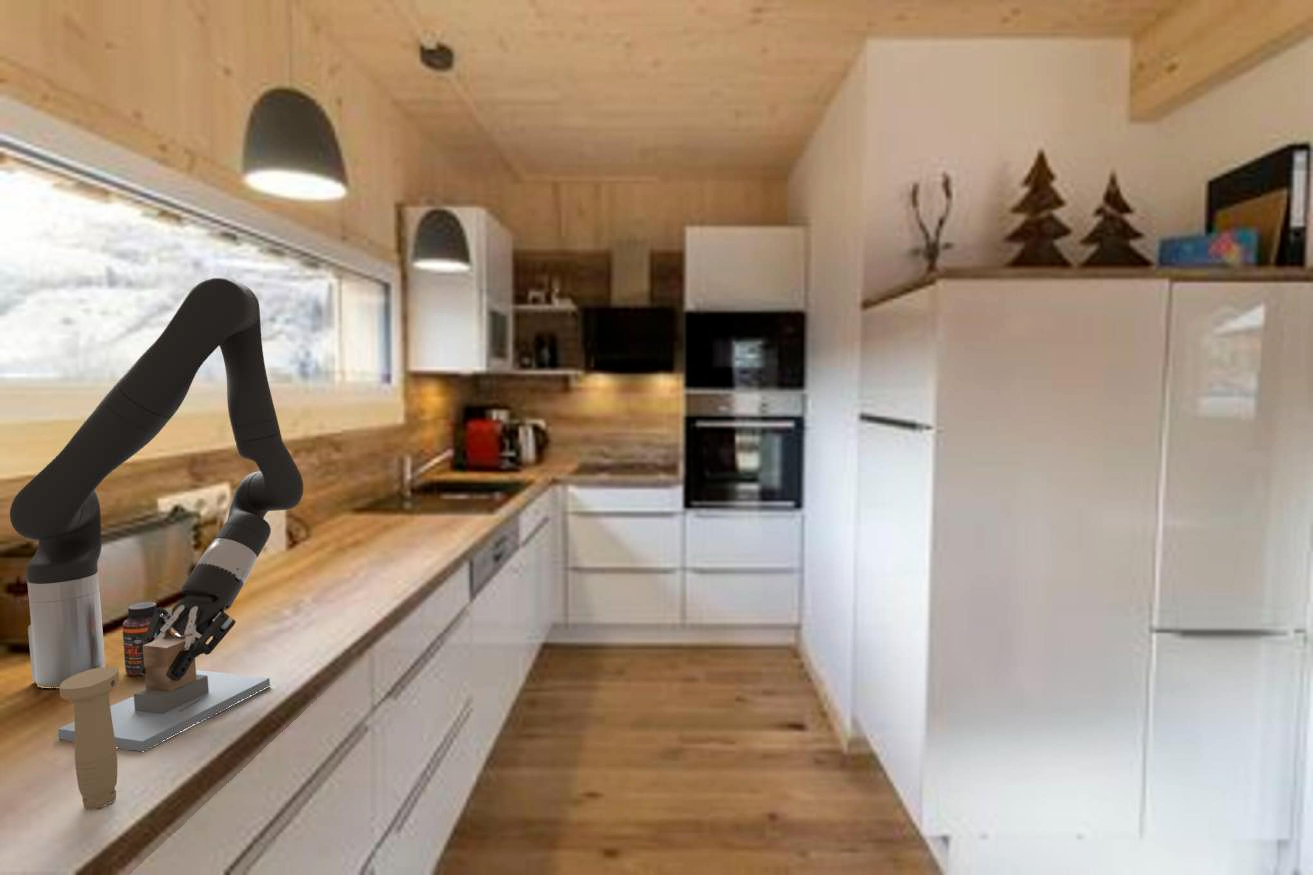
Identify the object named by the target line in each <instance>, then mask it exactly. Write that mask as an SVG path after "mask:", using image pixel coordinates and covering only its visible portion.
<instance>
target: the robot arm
mask: <svg viewBox="0 0 1313 875" xmlns="http://www.w3.org/2000/svg"><path fill="white" fill-rule="evenodd" d="M260 310H261V309H260V302H259V299H258V298H257V295H256V294H255V292H253V290H252V289H251V288H250V287H248V286H247V285H245V284H243V283H242V282H239V281H236V280H233V279H229V278H224V277H211V278H206V279H204V280H202V281H200V282H198V283H196V284H195V285H194V287H193V288H191V290H190V291H189V293H188V294H187V295H186V297H185V298H184V300H183V302H181V304H180V306H179V307H178V308H177V311H176V312H175V314H174V315H173V317H172V318H171V320H170V321H169V323H168V324H167V326H166V327H165V329H164V330H163V331H162V333H161V334H160V335H159V336H158V338H157V339H156V340H155V341H154V342H153V343H152V344H151V345H150V347H148V348H147V349H146V350H145V351H144V352H143V353H142V354H141V355H140V356H139V358H138V359H137V360H136V361H135V362H134V363H133V364H132V366H131V367H130V368H129V369H128V370H127V371H126V372H125V373H124V375H122V377H121V378H120V379H119V380H118V381H117V382H116V383H115V384H114V386H112V388H111V389H110V391H108V393H107V394H106V395H104V397H103V399H102V400H101V401H100V403H99V404H98V405H97V406H96V408H95V409H94V410H93V411H92V413H91V414H90V415H89V416H88V417H87V419H86V420H85V421H84V422H83V424H82V425H81V426H80V427H79V428H78V430H77V431H76V432H75V433H74V435H73V436H72V437H71V439H69V441H68V442H67V444H66V445H65V446H64V447H63V449H61V451H60V452H59V453H58V454H57V455H56V456H55V457H54V458H53V459H52V460H51V461H50V462H49V463H48V464H47V465H46V466H45V467H44V468H43V469H42V470H41V471H40V472H38V473H37V475H36V476H34V477H33V478H32V479H31V480H30V481H29V482H28V483H27V484H26V485H25V486H24V487H23V488H21V489H20V491H18V493H17V494H16V495H15V497H14V499H13V500H12V502H11V505H10V508H9V509H10V510H9V518H10V519H9V520H10V522H11V525H12V528H13V530H14V531H15V532H17V534H19V535H20V536H22V537H24V538H26V539H30V540H35V541H36V540H37V541H38V544H37V549H36V551H35V554H34V555H33V556H32V558H31V559H30V561H28V563H27V566H26V581H27V583H26V584H27V591H28V592H27V593H28V601H29V602H28V603H29V604H28V605H29V615H30V624H29V625H28V627H27V633H28V643H29V654H30V665H31V666H30V667H31V678H32V681H33V680H35V681H36V683H35V684H37V685H39V686H43V687H51V688H52V687H53V688H54V687H60V684H61V683H62V682H63V681H65V680H66V679H68V678H70V677H71V676H73V675H76V674H78V673H81V672H84V671H87V670H90V669H95V668H103V667H106V657H105V645H104V644H105V643H104V642H105V641H104V632H103V629H104V628H103V621H102V620H103V618H102V605H101V604H102V603H101V593H100V583H99V582H100V581H99V571H98V570H99V569H98V561H99V559H100V556H101V552H102V520H101V518H102V517H101V515H102V514H101V507H100V506H101V505H100V501H99V497H98V495H97V493H96V491H95V490H96V488H97V487H98V486H99V485H100V484H101V483H102V482H103V480H104V479H106V477H108V476H109V475H110V474H111V473H112V472H113V471H114V470H116V469H117V468H118V467H120V466H121V465H123V463H125V462H126V461H128V460H129V459H131V457H133V456H135V454H137V453H138V452H140V451H141V450H142V449H143V448H145V446H147V445H148V444H149V443H150V442H151V441H153V440H154V438H156V436H158V434H159V433H160V432H161V431H162V430H163V428H164V427H165V426H166V425H167V423H168V422H169V421H170V420H171V419H172V418H173V417H174V416H175V414H176V412H178V410H179V408H180V407H181V405H182V404H183V402H184V400H185V398H186V396H187V394H188V392H189V390H190V388H191V385H192V384H193V381H194V379H195V377H196V374H197V373H198V372H199V369H200V368H201V366H202V365H203V364H204V362H205V361H206V360H207V359H208V358H209V357H210V355H212V353H214V352H215V351H216V350H217V348H218V347H219V349H220V351H221V355H222V358H223V363H224V369H225V375H226V376H225V377H226V398H227V399H226V402H227V411H228V416H229V421H230V427H231V430H232V433H233V437H234V441H235V444H236V445H235V446H236V448H237V452H238V454H239V456H240V457H241V458H243V459H246V460H250V461H253V462H254V463H255V464H256V465H257V467H258V469H259V471H254V472H251V473H249V474H248V475H247V476H245V477H244V478H243V479H242V481H241V482H240V483H239V485H238V486H237V487H236V490H235V492H234V495H233V498H232V501H231V505H230V508H229V511H228V516H227V519H226V521H225V523H224V524H223V525H222V527H221V529H220V530H219V532H218V533H217V535H216V537H215V538H214V539H213V540H212V542H211V544H210V545H208V547H207V548H206V550H205V551H203V552H204V553H203V554H202V555H201V557H200V559H199V560H198V562H197V563H196V565H195V566H194V568H193V570H192V571H191V572H190V574H189V576H188V577H187V579H186V581H185V582H184V584H183V585H182V587H181V598H180V600H178V602H177V603H175V604H174V605H173V607H172V608H166V609H164V608H163V607H162V606H159V607H157V609H156V610H155V612H154V615H153V617H152V620H151V622H150V625H149V627H148V630H147V633H146V635H145V638H144V642H145V643H147V644H148V643H151V642H153V641H156V640H159V639H163V638H166V637H169V636H182V637H186V638H185V642H184V644H183V647H182V650H183V651H179V653H178V655H177V656H176V658H175V660H174V661H173V663H172V665H171V666H170V668H169V670H168V671H167V673H166V676H167V677H169V678H170V679H172V680H174V681H179V680H180V679H181V678H182V677H183V676H184V675H185V673H186V672H187V670H188V668H189V667H190V665H191V663H192V661H193V660H194V658H195V659H196V658H198V657H199V656H200V655H203V654H204V655H207V656H208V655H210V654H211V653H212V652H213V651H214V650H215V648H216V647H217V646H218V645H219V643H220V642H222V641H223V639H224V638H225V637H226V636H227V634H228V633H229V632H230V631H231V629H232V628H233V627H234V626H235V625H236V620H235V619H234V618H233V617H232V616H230V615H229V614H228V613H226V612H225V611H228V610H230V609H231V607H232V605H233V604H234V602H235V600H236V599H237V597H238V596H239V593H240V592H241V590H242V589H243V587H244V585H245V584H246V582H247V579H248V578H249V576H250V575H251V573H252V571H253V569H254V566H255V564H256V562H257V559H258V557H259V556H260V554H261V552H262V551H263V548H264V547H265V545H266V544H267V542H268V541H269V538H270V535H271V531H272V528H271V525H270V523H268V521H266V519H264V518H265V516H266V515H267V513H268V512H275V511H286V510H291V509H293V508H295V507H296V506H297V505H299V503H300V502H301V501H302V498H303V494H304V481H303V477H302V475H301V472H300V470H299V468H298V467H297V464H296V463H295V461H294V459H293V457H292V455H291V454H290V453H291V452H289V450H288V449H287V447H286V445H285V443H284V442H283V438H282V434H281V428H280V425H279V421H278V418H277V412H276V409H275V405H274V402H273V397H272V394H271V388H270V385H269V378H268V375H267V368H266V364H265V359H264V352H263V342H262V328H261V326H262V325H261V312H260ZM172 630H174V631H175V632H177V633H174V632H173V631H172ZM155 633H156V634H157V636H156V638H154V636H155ZM211 637H212V639H211ZM210 639H211V640H210ZM209 640H210V641H209ZM208 641H209V642H208ZM193 642H194V643H193ZM207 642H208V643H207ZM139 673H140V674H142V675H141V676H142V677H143V676H144V677H145V667H144V661H143V662H142V664H141V665H140V669H139Z"/></svg>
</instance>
